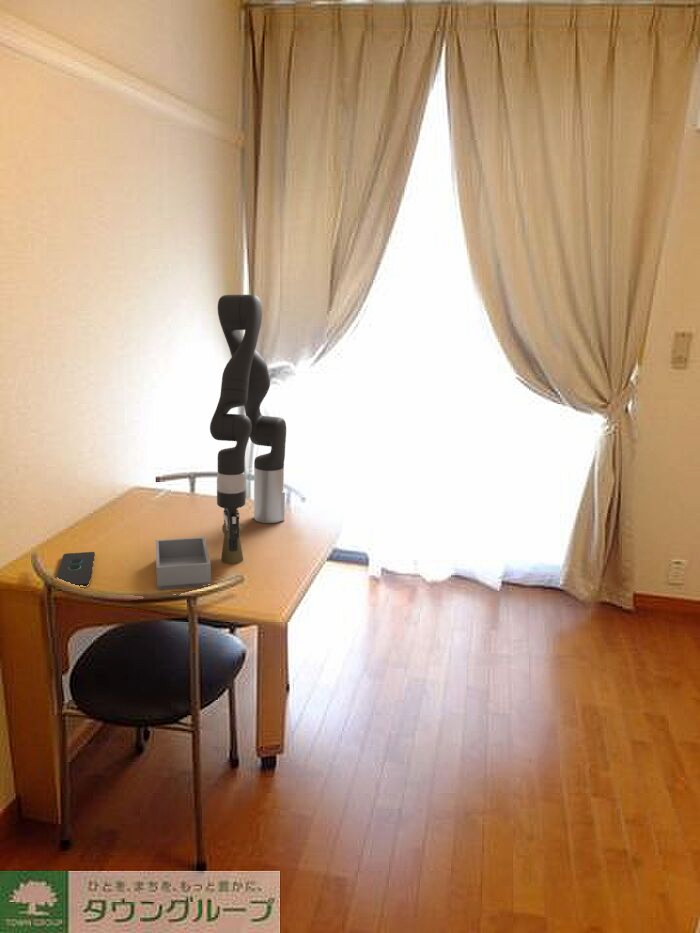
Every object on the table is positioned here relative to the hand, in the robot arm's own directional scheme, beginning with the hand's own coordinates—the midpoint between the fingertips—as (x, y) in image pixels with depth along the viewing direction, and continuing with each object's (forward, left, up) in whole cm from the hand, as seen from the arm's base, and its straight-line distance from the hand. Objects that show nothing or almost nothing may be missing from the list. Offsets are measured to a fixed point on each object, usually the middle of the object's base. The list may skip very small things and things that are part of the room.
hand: (231, 544), depth 188 cm
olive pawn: (0, 0, -5) cm, 5 cm away
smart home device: (+40, 0, -5) cm, 40 cm away
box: (+13, +6, -5) cm, 15 cm away
